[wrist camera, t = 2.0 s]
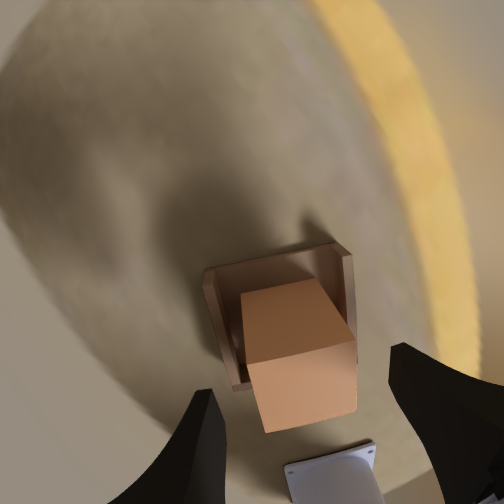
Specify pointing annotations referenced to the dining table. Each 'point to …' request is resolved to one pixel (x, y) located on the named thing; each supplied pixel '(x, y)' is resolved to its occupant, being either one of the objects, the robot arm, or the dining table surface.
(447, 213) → the dining table surface
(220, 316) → the box
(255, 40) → the dining table surface
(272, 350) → the block
